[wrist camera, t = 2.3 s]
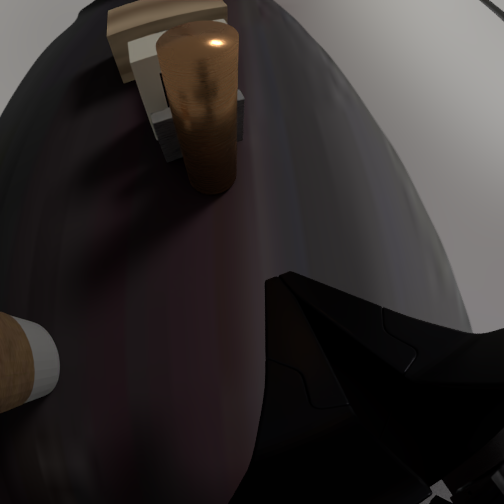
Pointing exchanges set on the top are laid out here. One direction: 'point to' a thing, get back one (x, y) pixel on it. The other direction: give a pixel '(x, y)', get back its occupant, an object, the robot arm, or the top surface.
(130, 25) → the bearing block
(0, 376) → the coffee cup
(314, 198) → the top surface
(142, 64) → the spacer
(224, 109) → the shaft
